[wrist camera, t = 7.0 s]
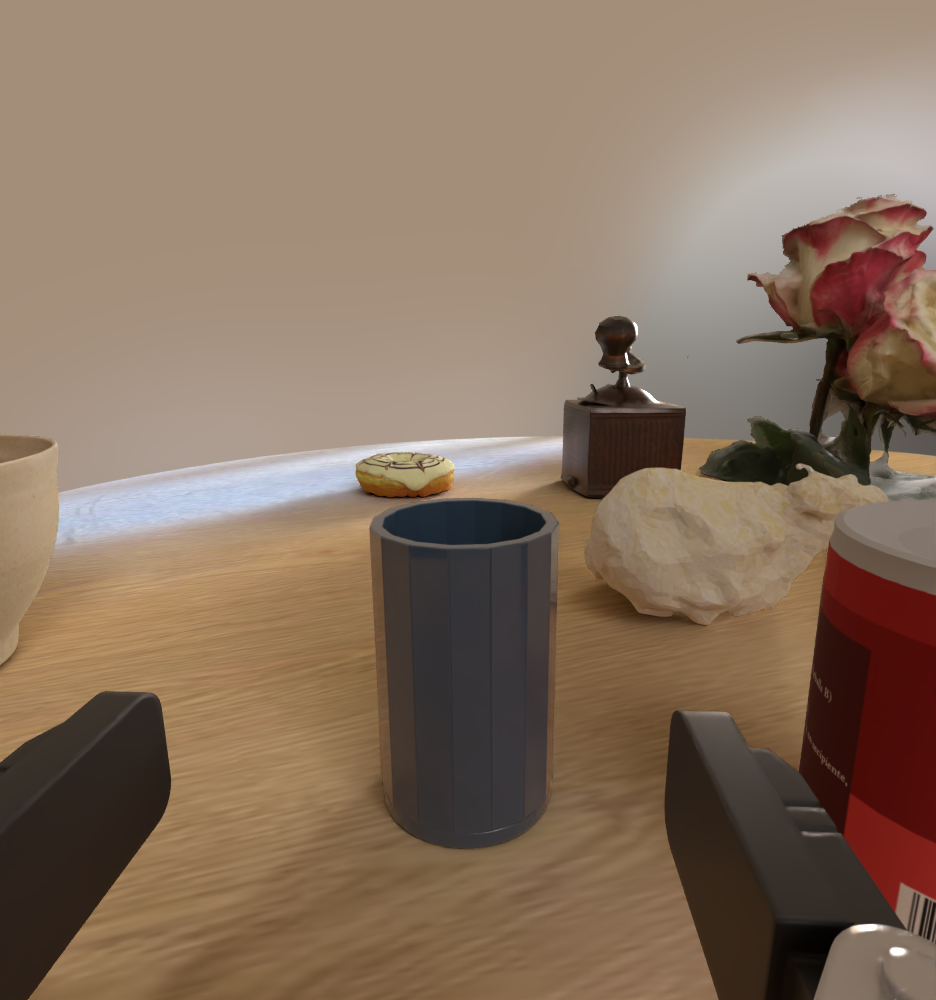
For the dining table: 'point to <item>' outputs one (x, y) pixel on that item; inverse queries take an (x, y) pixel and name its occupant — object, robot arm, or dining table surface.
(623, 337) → the manual coffee grinder
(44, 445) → the planter bowl
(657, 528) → the cream rock
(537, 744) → the tumbler
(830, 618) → the canned food
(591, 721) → the dining table surface
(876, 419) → the rose bouquet
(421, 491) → the decorated donut
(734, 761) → the robot arm
